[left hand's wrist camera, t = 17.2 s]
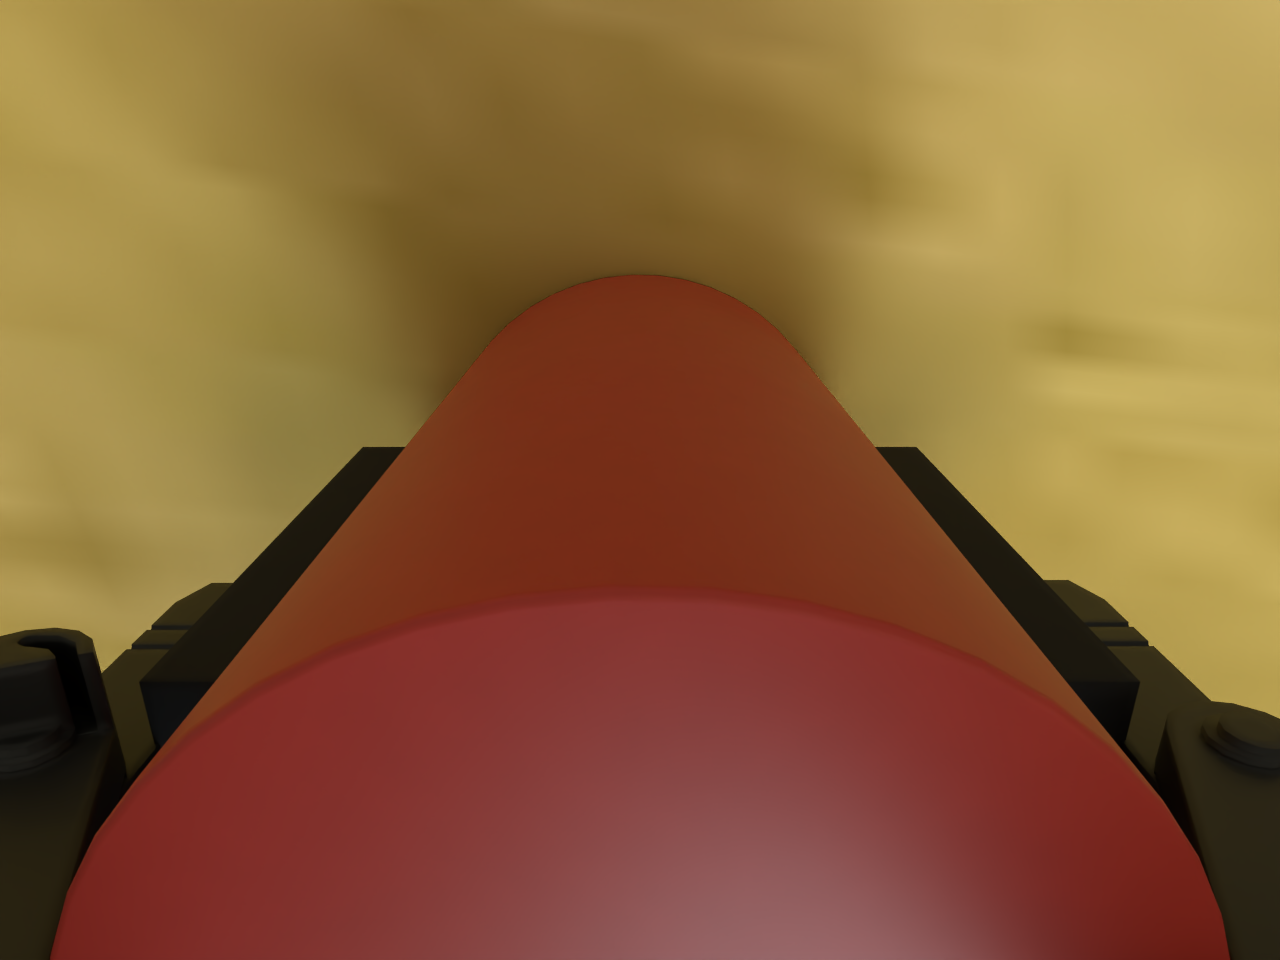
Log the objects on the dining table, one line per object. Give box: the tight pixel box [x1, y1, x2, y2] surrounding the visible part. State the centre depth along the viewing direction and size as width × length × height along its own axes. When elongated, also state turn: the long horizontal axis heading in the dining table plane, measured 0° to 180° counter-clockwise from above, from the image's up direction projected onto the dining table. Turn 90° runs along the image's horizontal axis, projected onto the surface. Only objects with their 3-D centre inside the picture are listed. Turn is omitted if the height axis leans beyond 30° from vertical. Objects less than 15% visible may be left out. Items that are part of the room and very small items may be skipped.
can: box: [50, 275, 1230, 960], centre depth 11 cm, size 7×7×12 cm
